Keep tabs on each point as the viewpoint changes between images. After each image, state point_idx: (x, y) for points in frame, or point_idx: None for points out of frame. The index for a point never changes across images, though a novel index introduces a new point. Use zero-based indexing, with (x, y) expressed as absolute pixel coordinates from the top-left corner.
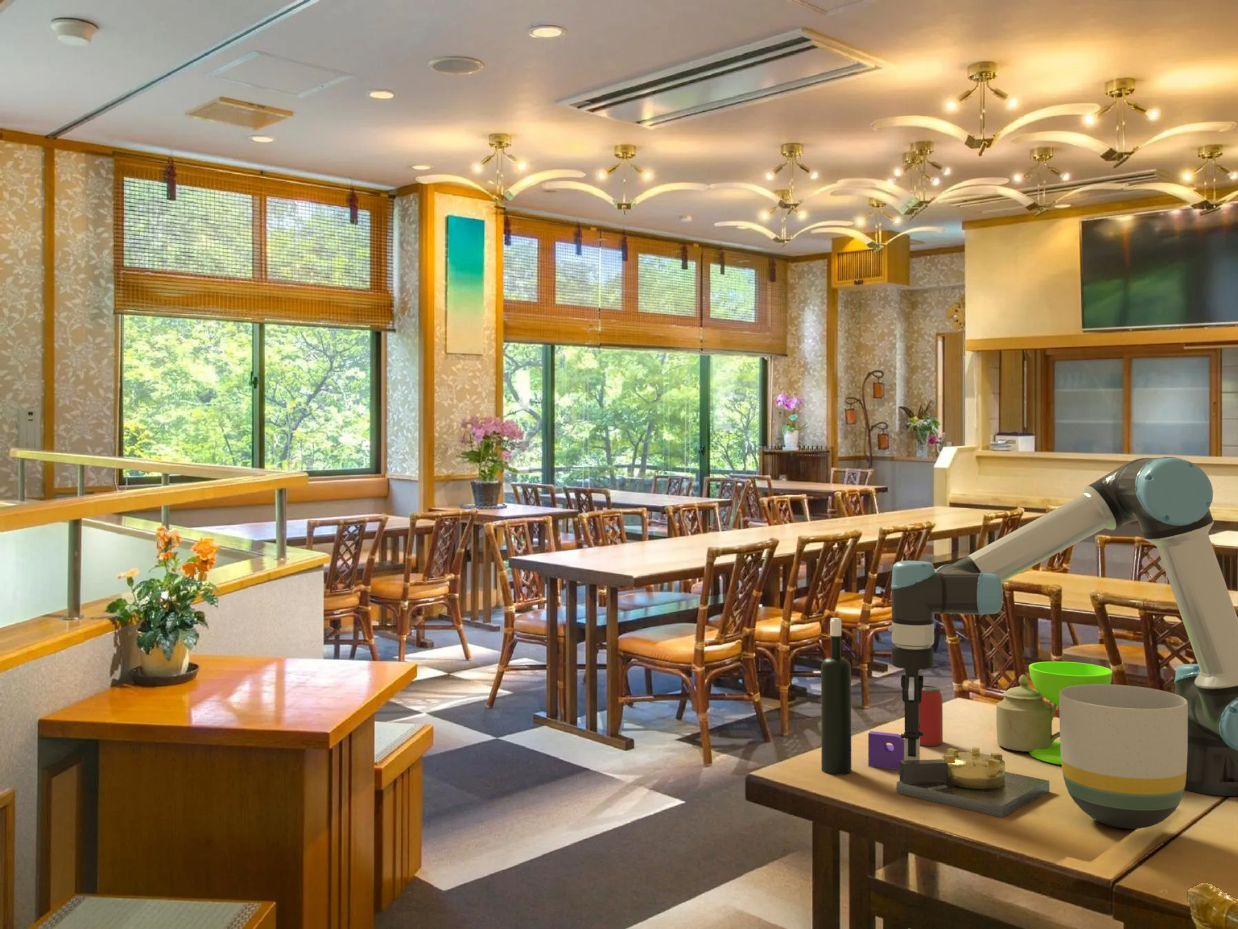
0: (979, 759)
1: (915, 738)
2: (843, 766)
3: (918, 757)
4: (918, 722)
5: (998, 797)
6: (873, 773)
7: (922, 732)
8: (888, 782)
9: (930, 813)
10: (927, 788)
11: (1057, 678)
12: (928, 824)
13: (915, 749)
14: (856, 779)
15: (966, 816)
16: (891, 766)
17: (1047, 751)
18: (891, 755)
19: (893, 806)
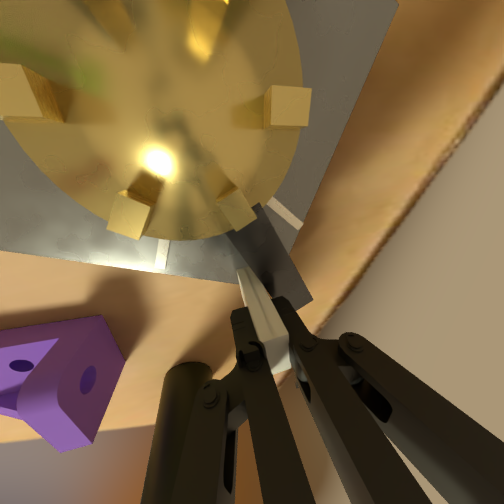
0: (137, 68)
1: (330, 340)
2: (205, 376)
3: (265, 291)
4: (428, 409)
5: (323, 17)
6: (168, 340)
7: (246, 356)
8: (209, 306)
9: (358, 201)
10: (296, 230)
11: None
12: (409, 193)
13: (295, 311)
14: (219, 343)
15: (367, 129)
16: (108, 336)
17: None
18: (95, 357)
19: (334, 261)
